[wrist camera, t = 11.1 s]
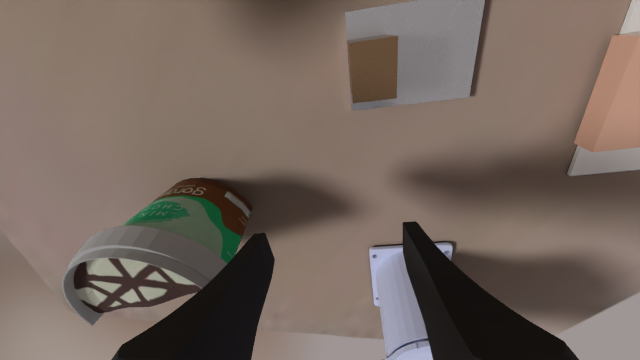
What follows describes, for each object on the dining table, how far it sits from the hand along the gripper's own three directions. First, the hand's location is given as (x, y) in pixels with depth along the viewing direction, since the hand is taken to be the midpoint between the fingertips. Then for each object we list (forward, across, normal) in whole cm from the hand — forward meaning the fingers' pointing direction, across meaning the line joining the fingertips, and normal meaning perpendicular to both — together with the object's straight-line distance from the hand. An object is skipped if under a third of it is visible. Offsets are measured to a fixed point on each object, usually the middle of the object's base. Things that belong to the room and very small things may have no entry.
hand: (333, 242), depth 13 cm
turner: (+10, -6, -7) cm, 13 cm away
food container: (+10, +14, +2) cm, 17 cm away
